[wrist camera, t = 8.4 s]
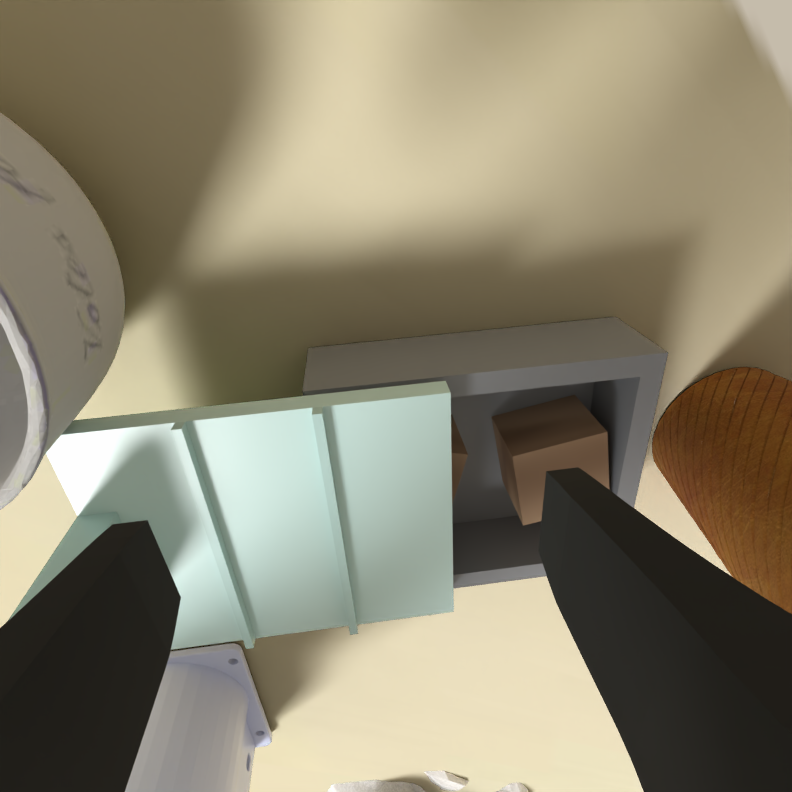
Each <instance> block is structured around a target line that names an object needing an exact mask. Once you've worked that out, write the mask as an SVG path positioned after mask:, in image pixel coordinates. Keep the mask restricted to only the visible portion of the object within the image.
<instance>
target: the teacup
mask: <svg viewBox="0 0 792 792" xmlns="http://www.w3.org/2000/svg"><path fill="white" fill-rule="evenodd" d="M124 313H125V295H124V285H123V279H122V275H121V270H120V266H119V262H118V259H117V256H116V253H115V249H114V247H113V244H112V242H111V240H110V237H109V235H108V233H107V231H106V229H105V227H104V225H103V223H102V221H101V219H100V218H99V216H98V214H97V212H96V210H95V209H94V207H93V206H92V204H91V203H90V201H89V200H88V198H87V197H86V196H85V194H84V193H83V191H82V190H81V189H80V187H79V186H78V185H77V183H76V182H75V181H74V179H73V178H72V177H71V176H70V175H69V173H68V172H67V171H66V170H65V169H64V168H63V167H62V166H61V165H60V164H59V163H58V161H57V160H56V159H55V158H54V157H53V156H52V155H51V154H50V153H49V152H48V151H47V150H45V149H44V148H43V147H42V146H41V145H40V144H39V143H38V142H37V141H36V140H35V139H34V138H32V137H31V136H30V135H29V134H28V133H26V132H25V131H24V130H23V129H21V128H20V127H19V126H18V125H16V124H15V123H14V122H13V121H12V120H10V119H9V118H8V117H6V116H5V115H3V114H2V113H0V510H1V509H2V508H3V507H5V506H6V505H7V504H8V503H10V502H11V501H12V500H13V499H14V498H15V497H16V496H17V495H18V494H19V493H20V491H21V490H22V489H23V488H24V487H25V486H26V485H27V484H28V482H29V481H30V480H31V478H32V477H33V475H34V473H35V472H36V470H37V468H38V466H39V464H40V462H41V460H42V458H43V456H44V455H45V453H46V452H47V451H48V450H49V449H50V448H51V446H52V445H53V444H54V443H55V442H56V440H57V439H58V438H59V437H60V436H61V434H62V433H63V432H64V431H65V430H66V428H67V427H68V426H69V425H70V424H71V422H72V421H73V420H74V419H75V417H76V416H77V415H78V414H79V412H80V411H81V410H82V408H83V407H84V406H85V404H86V403H87V402H88V401H89V399H90V398H91V397H92V395H93V394H94V392H95V391H96V389H97V388H98V386H99V385H100V383H101V382H102V380H103V379H104V377H105V375H106V374H107V372H108V370H109V368H110V366H111V364H112V362H113V360H114V358H115V356H116V353H117V350H118V347H119V344H120V339H121V335H122V331H123V326H124Z"/></svg>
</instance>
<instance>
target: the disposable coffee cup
mask: <svg viewBox="0 0 792 792" xmlns="http://www.w3.org/2000/svg"><path fill="white" fill-rule="evenodd" d="M652 453H653V458H654V462H655V463H656V465H657V467H658V469H659V470H660V471H661V473H662V474H663V476H664V477H665V478H666V480H667V481H668V483H669V485H670V486H671V488H672V489H673V491H674V492H675V493H676V495H677V496H678V498H679V499H680V501H681V502H682V504H683V505H684V506H685V508H686V510H687V511H688V513H689V514H690V515H691V517H692V518H693V519H694V521H695V522H696V524H697V525H698V527H699V529H700V530H701V531H702V532H703V534H704V535H705V537H706V538H707V540H708V541H709V543H710V544H711V546H712V547H713V549H714V550H715V552H716V554H717V555H718V557H719V558H720V559H721V561H722V562H723V564H724V565H725V567H726V568H727V570H728V571H729V572H730V574H731V575H732V577H733V578H735V579H736V580H738V581H739V582H741V583H742V584H744V585H746V586H747V587H749V588H750V589H752V590H753V591H755V592H756V593H758V594H759V595H761V596H763V597H764V598H766V599H768V600H769V601H771V602H772V603H774V604H776V605H777V606H779V607H781V608H782V609H784V610H786V611H787V612H789V613H791V614H792V381H790V380H786V379H785V378H782V377H780V376H777V375H774V374H772V373H771V372H769V371H765V370H762V369H758V368H750V367H740V368H731V369H728V370H724V371H721V372H717V373H715V374H713V375H710V376H708V377H706V378H704V379H702V380H700V381H699V382H697V383H696V384H694V385H692V386H691V387H689V388H688V389H687V390H686V391H685V392H683V393H682V394H681V395H680V396H678V397H677V399H676V400H675V401H674V402H673V403H672V404H671V405H670V406H669V407H668V409H667V410H666V412H665V413H664V415H663V417H662V418H661V420H660V421H659V423H658V426H657V428H656V431H655V433H654V437H653V442H652Z"/></svg>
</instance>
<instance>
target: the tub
mask: <svg viewBox="0 0 792 792" xmlns="http://www.w3.org/2000/svg"><path fill="white" fill-rule="evenodd" d="M667 356H668V352H667V351H665V350H664V349H662V348H661V347H659V346H658V345H656V344H655V343H654V342H652V341H651V340H649V339H648V338H646V337H645V336H643V335H642V334H640V333H639V332H637V331H636V330H635V329H633V328H632V327H630V326H629V325H627V324H626V323H624V322H623V321H621V320H620V319H618V318H617V317H608V318H598V319H588V320H578V321H568V322H559V323H549V324H539V325H529V326H519V327H509V328H499V329H490V330H480V331H470V332H460V333H450V334H440V335H430V336H421V337H411V338H401V339H391V340H381V341H371V342H362V343H352V344H342V345H332V346H322V347H312V348H308V354H307V361H306V369H305V376H304V384H303V391H302V392H303V396H308V395H317V394H326V393H336V392H345V391H354V390H364V389H373V388H382V387H392V386H401V385H410V384H420V383H429V382H438V381H446V383H447V385H448V388H449V390H450V392H451V414H452V415H453V418H454V420H455V423H456V425H457V428H458V430H459V433H460V436H461V438H462V441H463V443H464V446H465V448H466V451H467V453H468V456H467V459H466V463H465V466H464V469H463V472H462V475H461V478H460V481H459V485H458V488H457V491H456V494H455V497H454V500H453V503H452V527H453V588H460V587H468V586H475V585H483V584H490V583H498V582H505V581H513V580H521V579H528V578H536V577H543V576H547V575H546V572H545V569H544V566H543V563H542V560H541V557H540V554H539V551H538V550H539V539H540V529H541V521H539V522H535V523H532V524H528V525H524V526H523V524H522V522H521V520H520V518H519V515H518V513H517V511H516V509H515V507H514V505H513V502H512V500H511V498H510V496H509V494H508V492H507V489H506V487H505V485H504V483H503V481H502V475H501V469H500V463H499V458H498V452H497V446H496V440H495V435H494V429H493V423H492V416H496V415H499V414H503V413H507V412H511V411H514V410H518V409H522V408H526V407H530V406H533V405H537V404H541V403H545V402H549V401H552V400H556V399H560V398H564V397H568V396H571V395H575V396H576V397H577V398H578V399H579V400H580V401H581V402H582V404H583V405H584V406H585V407H586V408H587V409H588V410H589V411H590V413H591V414H592V415H593V416H594V417H595V418H596V419H597V421H598V422H599V423H600V424H601V425H602V426H603V427H604V428H605V430H606V431H607V434H608V464H609V490H610V491H612V492H613V493H614V494H616V495H617V496H618V497H620V498H621V499H622V500H624V501H625V502H626V503H628V504H629V505H630V506H632V507H633V508H634V505H635V500H636V496H637V491H638V487H639V482H640V478H641V473H642V468H643V464H644V459H645V455H646V450H647V446H648V441H649V437H650V432H651V428H652V423H653V419H654V414H655V410H656V405H657V401H658V396H659V392H660V387H661V383H662V378H663V374H664V369H665V365H666V360H667Z"/></svg>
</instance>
